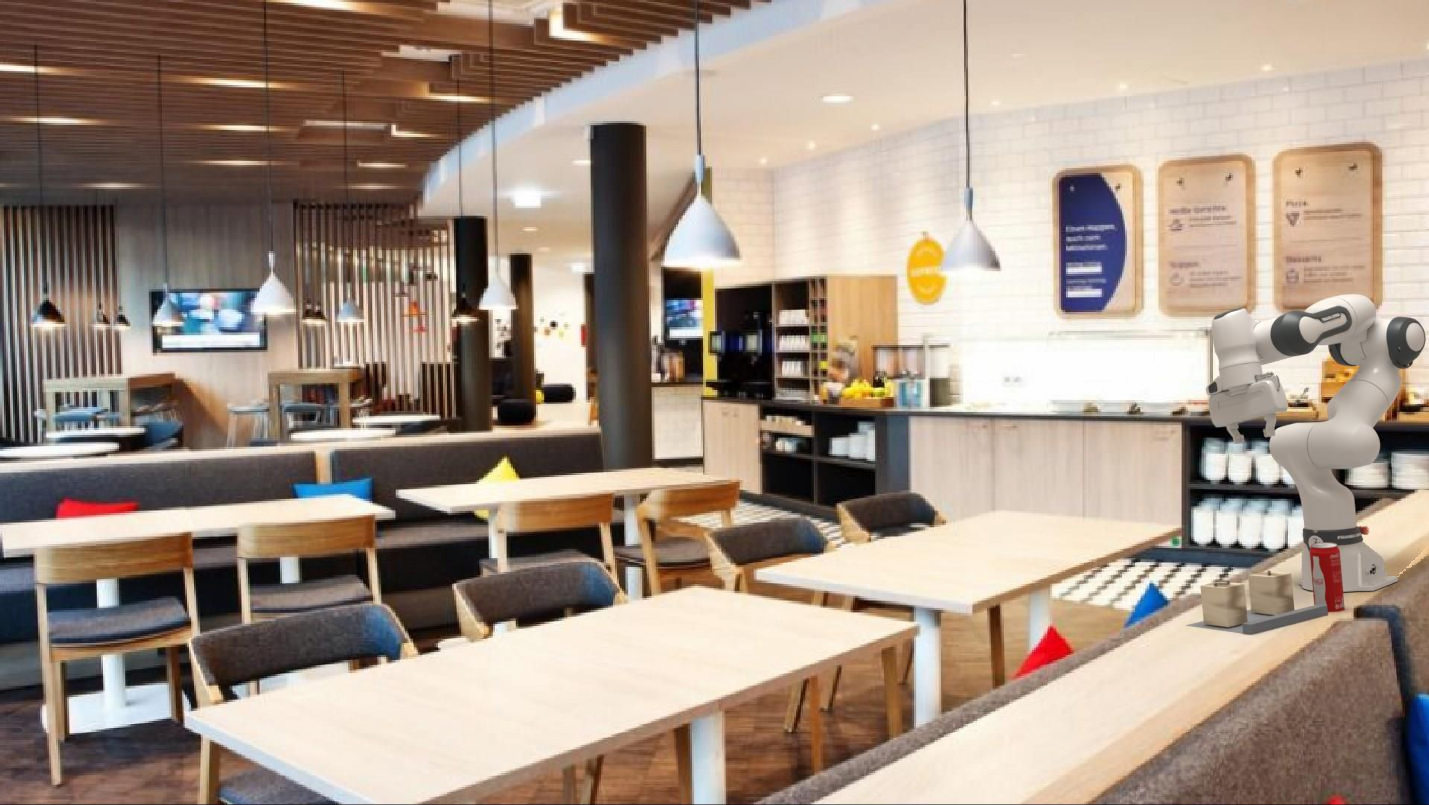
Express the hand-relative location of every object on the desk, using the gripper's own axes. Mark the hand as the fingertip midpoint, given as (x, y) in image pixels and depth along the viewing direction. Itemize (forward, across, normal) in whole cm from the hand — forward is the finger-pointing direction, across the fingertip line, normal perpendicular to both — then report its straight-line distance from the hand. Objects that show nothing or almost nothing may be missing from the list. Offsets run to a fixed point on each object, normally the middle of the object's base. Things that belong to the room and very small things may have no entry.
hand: (1254, 440), depth 272 cm
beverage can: (+39, -9, -2) cm, 41 cm away
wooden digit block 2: (+38, -6, +23) cm, 45 cm away
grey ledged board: (+39, -7, +16) cm, 43 cm away
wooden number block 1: (+38, -4, +8) cm, 39 cm away
